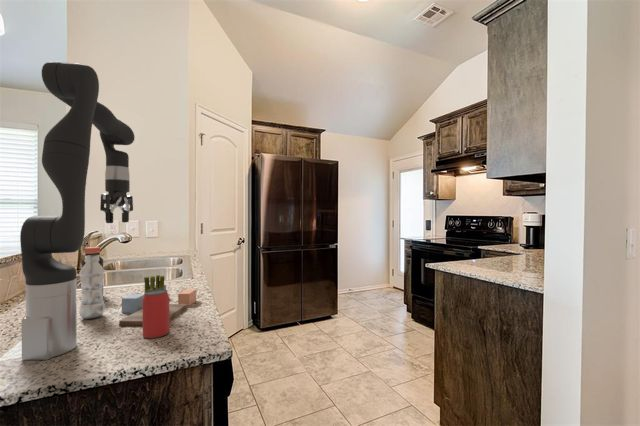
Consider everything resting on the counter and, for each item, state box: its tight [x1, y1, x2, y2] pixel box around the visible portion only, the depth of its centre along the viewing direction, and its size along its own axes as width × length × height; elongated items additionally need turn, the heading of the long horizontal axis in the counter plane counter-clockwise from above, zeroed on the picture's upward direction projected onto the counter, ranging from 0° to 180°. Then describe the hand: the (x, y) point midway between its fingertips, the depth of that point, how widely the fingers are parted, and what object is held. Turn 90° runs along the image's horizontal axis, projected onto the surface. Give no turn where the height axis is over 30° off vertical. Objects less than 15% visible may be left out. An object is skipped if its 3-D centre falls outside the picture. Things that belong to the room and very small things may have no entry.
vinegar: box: [81, 246, 104, 293], centre depth 118 cm, size 7×7×20 cm
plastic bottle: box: [79, 254, 106, 320], centre depth 96 cm, size 6×7×20 cm
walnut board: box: [118, 303, 188, 327], centre depth 97 cm, size 16×13×2 cm
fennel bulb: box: [143, 274, 166, 295], centre depth 97 cm, size 6×5×12 cm
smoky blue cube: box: [121, 293, 144, 314], centre depth 103 cm, size 5×5×5 cm
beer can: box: [142, 288, 170, 339], centre depth 83 cm, size 7×7×12 cm
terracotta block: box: [177, 288, 197, 307], centre depth 111 cm, size 6×4×4 cm, turn 179°
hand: (117, 222), depth 111 cm, fingers open, 8 cm apart
